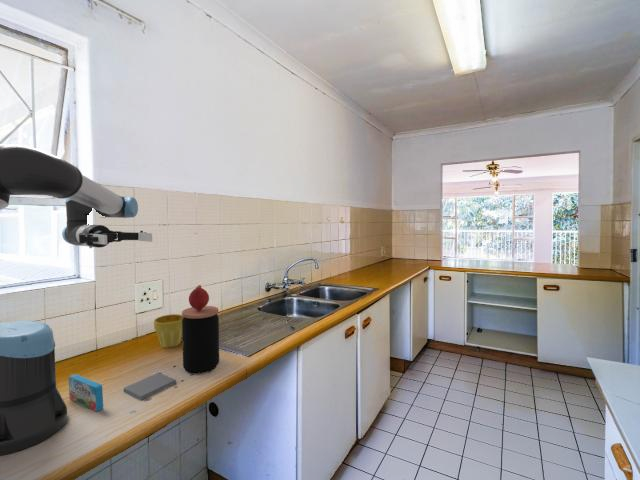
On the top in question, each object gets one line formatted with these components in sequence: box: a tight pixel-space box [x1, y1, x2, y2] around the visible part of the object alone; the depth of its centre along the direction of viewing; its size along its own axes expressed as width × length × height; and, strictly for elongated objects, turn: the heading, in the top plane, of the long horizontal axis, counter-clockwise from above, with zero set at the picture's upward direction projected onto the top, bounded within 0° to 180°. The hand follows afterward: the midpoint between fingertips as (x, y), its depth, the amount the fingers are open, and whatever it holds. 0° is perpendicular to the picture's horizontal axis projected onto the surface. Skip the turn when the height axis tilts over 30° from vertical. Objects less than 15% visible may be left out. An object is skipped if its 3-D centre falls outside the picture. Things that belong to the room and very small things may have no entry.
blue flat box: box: [68, 373, 104, 413], centre depth 80 cm, size 12×2×6 cm, turn 63°
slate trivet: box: [123, 372, 177, 401], centre depth 88 cm, size 10×8×1 cm
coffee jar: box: [181, 305, 220, 375], centre depth 100 cm, size 11×11×18 cm
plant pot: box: [153, 313, 184, 349], centre depth 118 cm, size 10×10×10 cm
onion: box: [188, 284, 210, 311], centre depth 99 cm, size 6×6×8 cm
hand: (129, 238), depth 98 cm, fingers open, 13 cm apart
